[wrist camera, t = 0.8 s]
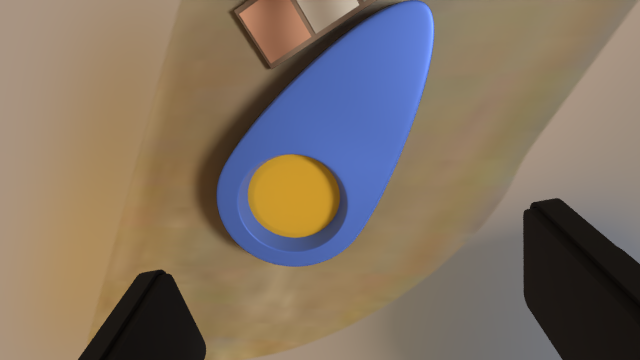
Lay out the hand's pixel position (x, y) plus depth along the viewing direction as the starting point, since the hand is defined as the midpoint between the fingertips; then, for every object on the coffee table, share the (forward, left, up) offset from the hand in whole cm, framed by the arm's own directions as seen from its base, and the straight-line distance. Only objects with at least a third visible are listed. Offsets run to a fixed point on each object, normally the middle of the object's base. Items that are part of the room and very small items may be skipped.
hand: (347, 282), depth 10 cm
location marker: (+2, +3, -24) cm, 24 cm away
